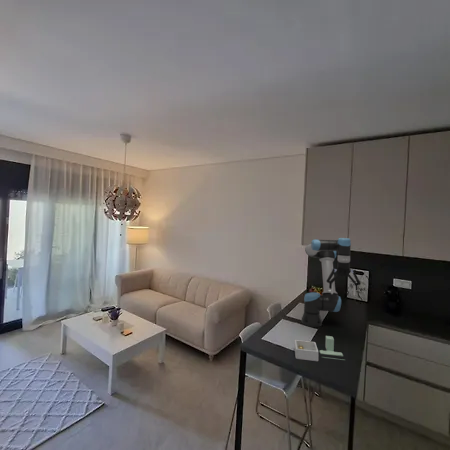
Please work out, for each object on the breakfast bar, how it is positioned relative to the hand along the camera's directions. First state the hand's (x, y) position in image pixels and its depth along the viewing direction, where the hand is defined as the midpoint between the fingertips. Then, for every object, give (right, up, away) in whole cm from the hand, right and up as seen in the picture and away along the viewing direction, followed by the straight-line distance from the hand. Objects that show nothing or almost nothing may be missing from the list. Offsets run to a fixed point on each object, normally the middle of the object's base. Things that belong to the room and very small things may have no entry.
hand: (342, 294), depth 165 cm
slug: (-32, -30, -14) cm, 46 cm away
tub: (-30, -31, -17) cm, 46 cm away
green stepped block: (-14, -31, -17) cm, 38 cm away
